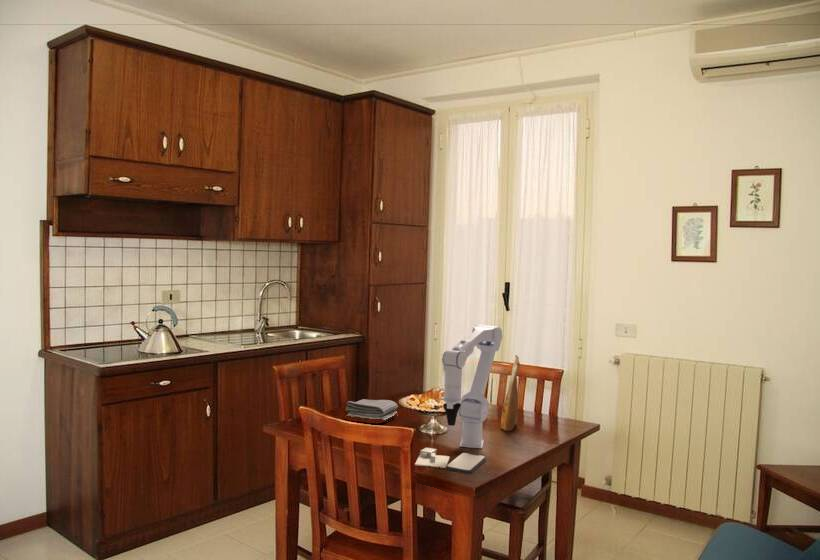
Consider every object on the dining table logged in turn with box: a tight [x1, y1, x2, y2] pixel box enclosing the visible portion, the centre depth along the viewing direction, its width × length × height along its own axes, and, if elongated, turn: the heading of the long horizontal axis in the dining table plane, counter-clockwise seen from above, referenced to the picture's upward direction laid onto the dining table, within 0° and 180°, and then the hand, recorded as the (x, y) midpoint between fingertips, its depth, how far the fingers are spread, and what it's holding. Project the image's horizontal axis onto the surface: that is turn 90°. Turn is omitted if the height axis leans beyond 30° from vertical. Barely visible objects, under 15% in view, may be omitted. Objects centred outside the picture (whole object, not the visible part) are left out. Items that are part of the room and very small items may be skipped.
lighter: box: [419, 447, 437, 462], centre depth 212 cm, size 7×2×8 cm
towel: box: [345, 398, 399, 420], centre depth 261 cm, size 15×18×8 cm
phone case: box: [445, 452, 487, 474], centre depth 208 cm, size 9×2×16 cm
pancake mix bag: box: [500, 354, 521, 432], centre depth 256 cm, size 7×19×28 cm, turn 165°
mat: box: [414, 454, 451, 469], centre depth 210 cm, size 11×10×1 cm
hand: (451, 425), depth 216 cm, fingers closed
